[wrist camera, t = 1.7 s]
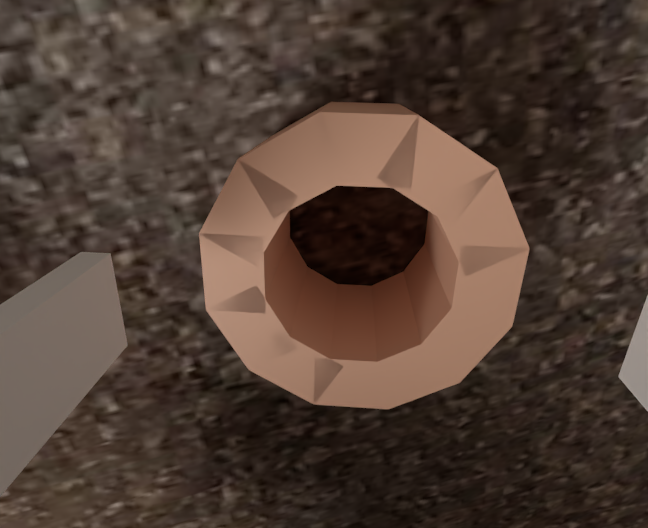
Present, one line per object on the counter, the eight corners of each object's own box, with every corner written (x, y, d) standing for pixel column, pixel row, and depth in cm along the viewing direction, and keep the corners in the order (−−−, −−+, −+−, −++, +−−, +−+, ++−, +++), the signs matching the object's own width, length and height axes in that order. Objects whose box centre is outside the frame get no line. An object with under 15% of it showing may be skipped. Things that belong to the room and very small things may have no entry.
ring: (456, 327, 21) (492, 416, 16) (250, 316, 22) (213, 398, 16) (493, 106, 17) (558, 119, 12) (239, 98, 18) (187, 108, 12)
